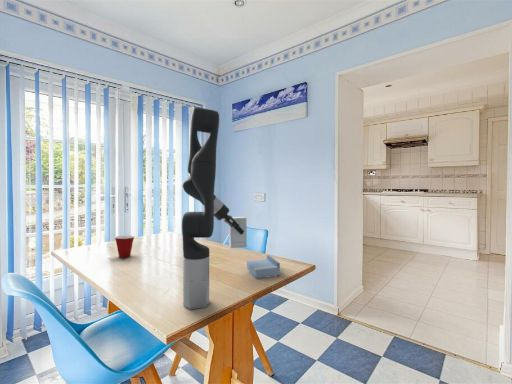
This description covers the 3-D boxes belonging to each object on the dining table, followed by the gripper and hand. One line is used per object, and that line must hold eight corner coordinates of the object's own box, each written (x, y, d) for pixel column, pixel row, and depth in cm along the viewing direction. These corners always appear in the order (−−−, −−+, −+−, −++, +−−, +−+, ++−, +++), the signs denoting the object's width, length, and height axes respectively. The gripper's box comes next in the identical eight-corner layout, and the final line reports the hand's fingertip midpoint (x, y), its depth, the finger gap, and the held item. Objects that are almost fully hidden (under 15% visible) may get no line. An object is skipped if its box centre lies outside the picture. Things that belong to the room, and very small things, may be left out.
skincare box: (244, 245, 135) (244, 216, 135) (246, 247, 129) (247, 217, 129) (228, 245, 133) (228, 216, 133) (229, 248, 127) (230, 217, 127)
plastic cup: (138, 254, 159) (138, 234, 158) (128, 259, 148) (128, 238, 148) (121, 253, 160) (121, 233, 160) (110, 258, 149) (109, 237, 149)
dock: (279, 275, 125) (279, 263, 125) (255, 278, 121) (255, 265, 121) (269, 266, 138) (269, 255, 138) (246, 268, 134) (246, 257, 134)
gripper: (226, 204, 121) (250, 228, 125) (220, 202, 135) (242, 224, 139) (214, 215, 120) (239, 240, 124) (209, 212, 134) (232, 234, 138)
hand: (240, 231), depth 132 cm, fingers closed on skincare box, 6 cm apart
